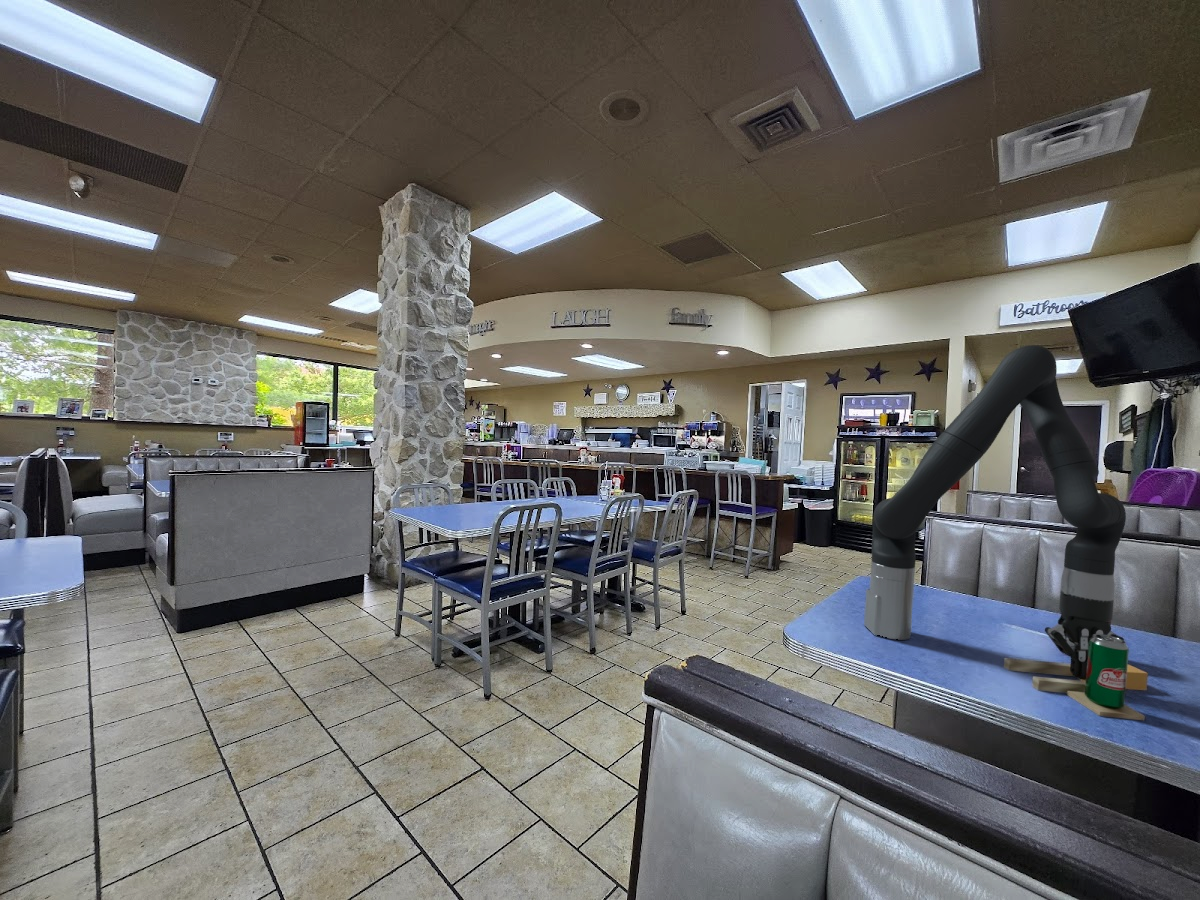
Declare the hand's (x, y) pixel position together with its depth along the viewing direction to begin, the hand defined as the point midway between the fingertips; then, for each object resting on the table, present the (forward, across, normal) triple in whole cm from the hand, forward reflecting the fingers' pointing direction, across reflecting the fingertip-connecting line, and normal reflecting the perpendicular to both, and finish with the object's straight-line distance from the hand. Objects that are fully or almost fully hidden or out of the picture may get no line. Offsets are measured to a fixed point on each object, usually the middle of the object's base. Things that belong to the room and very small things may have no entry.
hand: (1080, 677), depth 97 cm
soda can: (+1, +3, +9) cm, 9 cm away
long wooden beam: (+2, -7, -2) cm, 7 cm away
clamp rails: (+1, +3, 0) cm, 4 cm away
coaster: (+1, +3, +9) cm, 9 cm away
